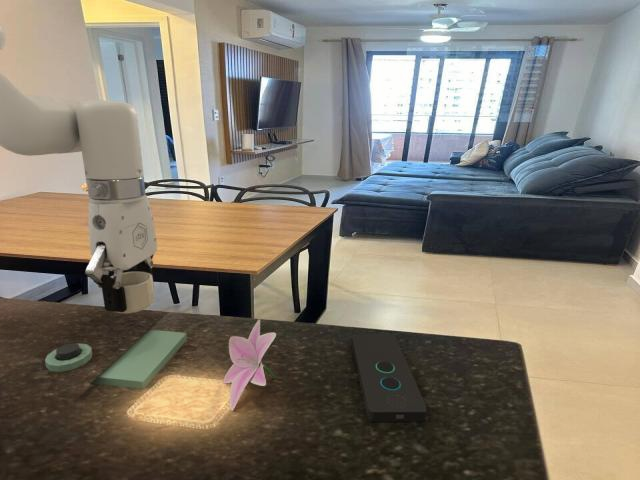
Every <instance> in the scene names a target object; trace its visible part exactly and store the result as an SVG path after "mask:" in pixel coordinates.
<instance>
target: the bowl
mask: <svg viewBox="0 0 640 480" xmlns="http://www.w3.org/2000/svg"><path fill="white" fill-rule="evenodd" d="M110 277H111V278H113V277H114V275H111V276H110ZM153 284H154V277H153V278H152V275H151V274H150V273H146V272H138V271H136V272H133V271H126V272H123V274H122V279H121V285H120V286H124V290H125V298H126V306H127V310H126V311H125V312H114V311H112V312H113V313H116V314H133V313H138V312H141V311H143V310H146V309H147V308H149V307H150V306H151V305H152V304H153V303H154V302H155V299H156V298H155V287H154V288H153Z"/></svg>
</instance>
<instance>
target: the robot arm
mask: <svg viewBox="0 0 640 480" xmlns="http://www.w3.org/2000/svg"><path fill="white" fill-rule="evenodd" d="M5 44H6V33H5V30H4V28H3V26H2V25H1V24H0V53H2V51H3V49H4V47H5ZM0 147H2V149H5V150H7V151H9V152H11V153H14V154H17V155H21V156H26V157H27V156H29V157H30V156H32V157H33V156H45V155H53V154H54V155H55V154H56V155H57V154H60V155H61V154H70V153H71V154H73V153H79V152H81V155H82V162H83V168H84V169H83V170H84V176H85V183H86V188H87V194H88V212H87V213H88V216H87V217H88V218H87V219H88V221H87V222H88V239H89V240H88V241H89V247H90V248H89V249H90V254H91V259H90V260H89V263H88V264H87V266H86V269H85V270H84V271H85V272H84V273H85V275H86V276H87V277H88V278H90V279H91V280H92V281H93V282H94V283H95V284H96V285H97V286H98V288H99V289H101V291H102V292H101V293H102V298H103V299H102V300H103V305H104V310H105V311H106V312H113V311H114V312H113V313H116V312H125V311H126V310H127V306H126V298H125V290H124V286H120V285H121V279H122V274H123V273H124V271H128V270H130V269H131V270H132V271H131V272H136V271H138V272H146V273H150V274H151V275H152V278H153V279H154V275H153V267H154V261H153V258H154V255H155V253H157V250H158V242H157V235H156V228H155V221H154V218H153V213H152V208H151V204H150V201H149V198H148V196H147V194H146V187H145V176H144V175H145V174H144V168H143V167H144V166H143V157H142V149H141V139H140V130H139V120H138V114H137V111H136V109H135V107H134V106H133V105H132V104H131V103H128V102H125V101H117V100H101V99H89V100H82V101H77V100H70V99H63V98H55V97H48V96H40V95H31V94H30V95H29V94H25V93H24V92H23V91H22V90H20V89H19V88H18V87H17V85H16V84H14V82H13V81H11V80H10V79H9V78H8V77H7V76H6V75H5V74H4V72H2V71H1V70H0ZM110 272H113V276H114V277H113V278H111V276H110V275H109V274H110ZM153 288H154V289H155V285H154V283H153Z"/></svg>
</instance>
